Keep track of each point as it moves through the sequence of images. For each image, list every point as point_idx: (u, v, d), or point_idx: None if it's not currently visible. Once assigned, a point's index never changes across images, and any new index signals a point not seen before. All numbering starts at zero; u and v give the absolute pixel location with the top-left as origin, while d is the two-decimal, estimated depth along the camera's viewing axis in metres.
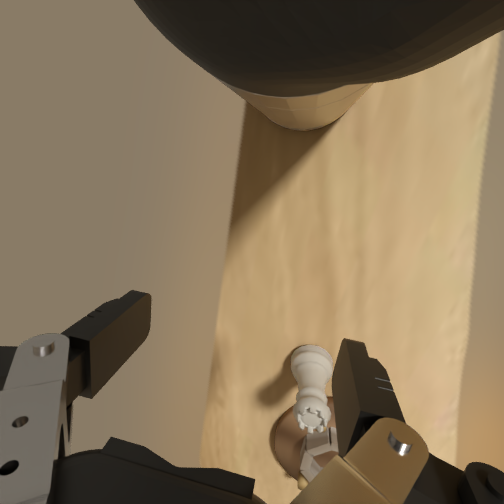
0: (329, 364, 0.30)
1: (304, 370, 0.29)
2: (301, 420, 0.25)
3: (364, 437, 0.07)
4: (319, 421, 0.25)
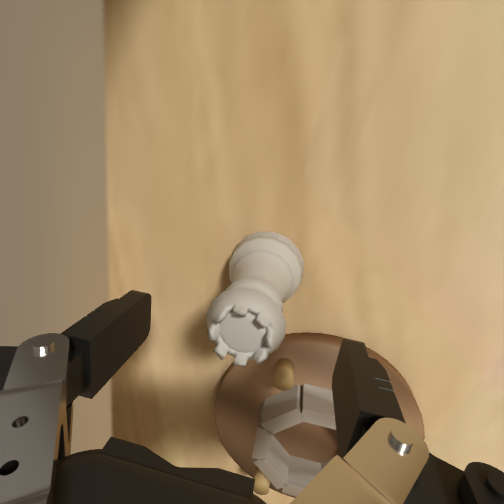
0: (294, 258, 0.16)
1: (245, 264, 0.15)
2: (221, 339, 0.12)
3: (364, 437, 0.07)
4: (258, 337, 0.11)
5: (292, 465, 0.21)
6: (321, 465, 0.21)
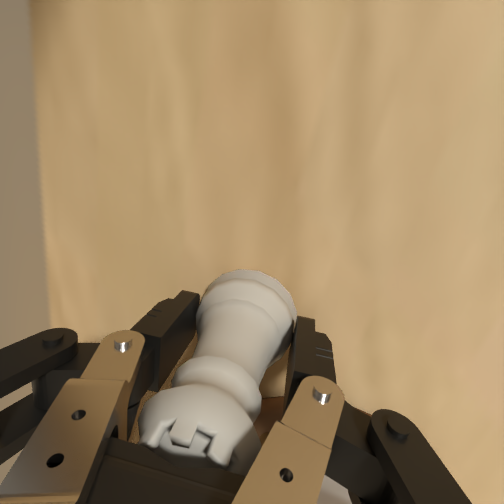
0: (284, 310, 0.12)
1: (213, 321, 0.11)
2: None
3: (294, 398, 0.08)
4: None
5: None
6: None
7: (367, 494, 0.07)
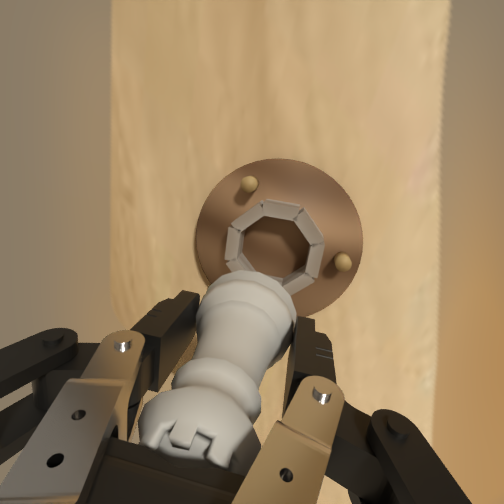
0: (283, 312, 0.12)
1: (212, 322, 0.11)
2: None
3: (294, 398, 0.08)
4: None
5: None
6: (282, 278, 0.26)
7: (366, 494, 0.07)
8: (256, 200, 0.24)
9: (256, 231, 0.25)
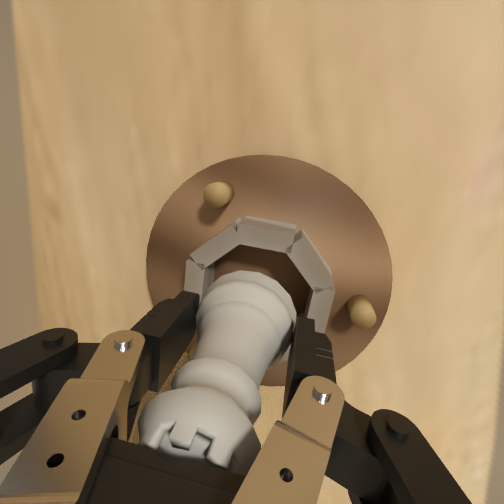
0: (283, 312, 0.12)
1: (212, 322, 0.11)
2: None
3: (294, 398, 0.08)
4: None
5: None
6: None
7: (366, 494, 0.07)
8: (231, 218, 0.16)
9: (232, 263, 0.17)
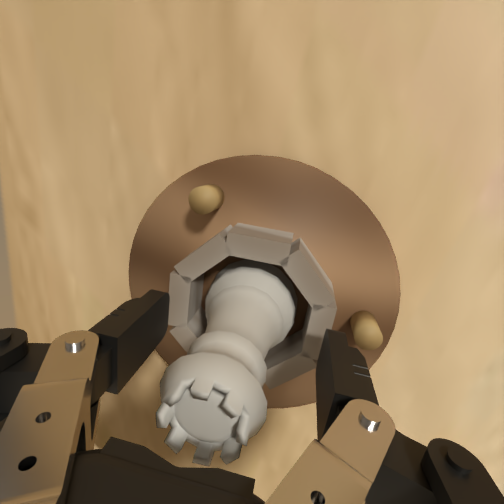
0: (286, 296, 0.13)
1: (222, 304, 0.12)
2: (177, 422, 0.08)
3: (337, 420, 0.07)
4: (226, 426, 0.08)
5: None
6: None
7: None
8: (221, 225, 0.14)
9: None
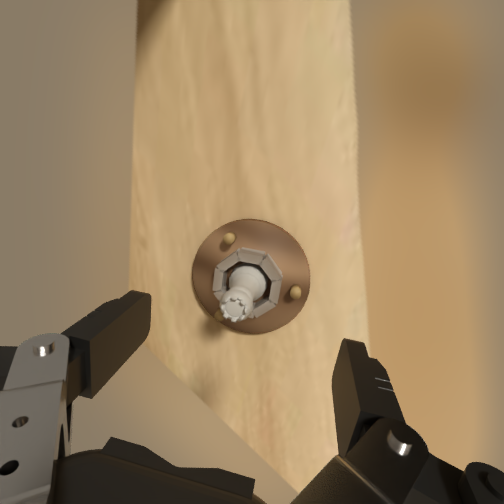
0: (262, 277, 0.33)
1: (236, 279, 0.32)
2: (225, 311, 0.28)
3: (364, 437, 0.07)
4: (241, 310, 0.27)
5: None
6: (255, 303, 0.35)
7: None
8: (235, 248, 0.34)
9: None
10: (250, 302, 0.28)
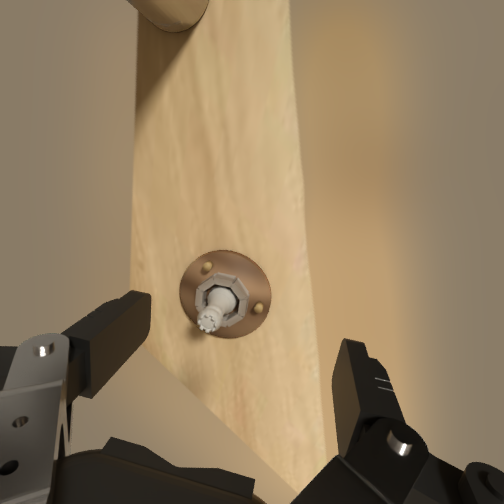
0: (232, 296, 0.42)
1: (212, 298, 0.41)
2: (201, 324, 0.38)
3: (364, 437, 0.07)
4: (212, 324, 0.37)
5: None
6: (228, 315, 0.45)
7: None
8: (212, 272, 0.44)
9: None
10: (219, 318, 0.37)
